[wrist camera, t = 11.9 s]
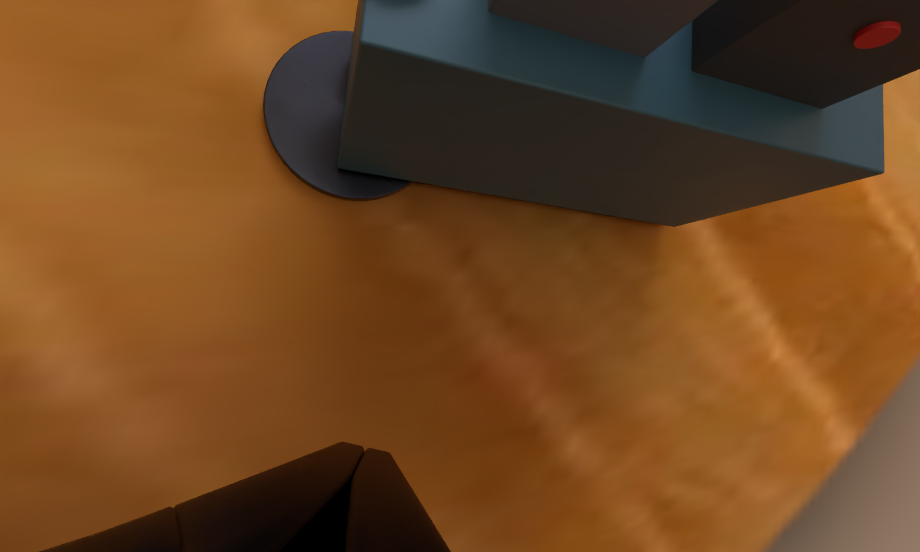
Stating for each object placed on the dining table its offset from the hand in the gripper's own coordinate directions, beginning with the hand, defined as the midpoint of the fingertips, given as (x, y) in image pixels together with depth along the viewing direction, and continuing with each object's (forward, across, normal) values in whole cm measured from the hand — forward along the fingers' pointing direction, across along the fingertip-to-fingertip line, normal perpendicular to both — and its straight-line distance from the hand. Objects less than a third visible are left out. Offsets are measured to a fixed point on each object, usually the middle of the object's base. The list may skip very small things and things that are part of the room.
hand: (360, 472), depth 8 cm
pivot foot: (+14, -4, +6) cm, 16 cm away
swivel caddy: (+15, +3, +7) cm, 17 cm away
